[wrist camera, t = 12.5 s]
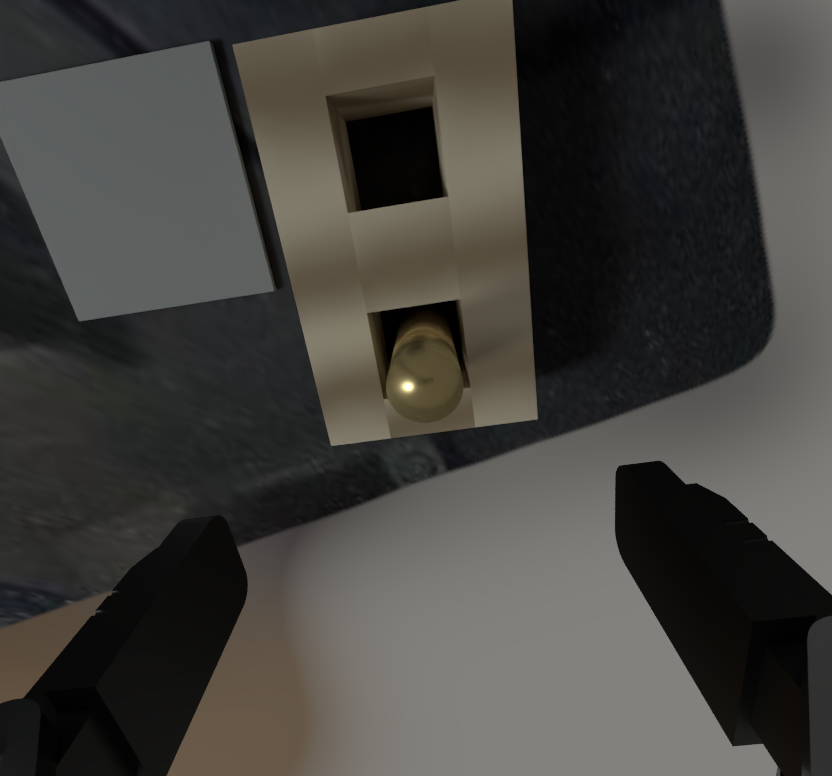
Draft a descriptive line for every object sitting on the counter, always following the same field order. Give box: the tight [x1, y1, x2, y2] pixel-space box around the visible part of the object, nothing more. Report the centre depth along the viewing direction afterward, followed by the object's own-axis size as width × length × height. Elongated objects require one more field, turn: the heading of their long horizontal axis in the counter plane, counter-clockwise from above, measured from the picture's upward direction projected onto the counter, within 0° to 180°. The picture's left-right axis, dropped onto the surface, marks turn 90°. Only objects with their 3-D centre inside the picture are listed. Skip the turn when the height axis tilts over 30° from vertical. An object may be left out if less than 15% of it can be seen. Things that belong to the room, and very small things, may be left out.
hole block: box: [233, 0, 538, 446], centre depth 22 cm, size 18×11×5 cm, turn 9°
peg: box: [386, 304, 463, 423], centre depth 22 cm, size 3×3×10 cm
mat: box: [0, 41, 276, 321], centre depth 24 cm, size 12×12×1 cm
